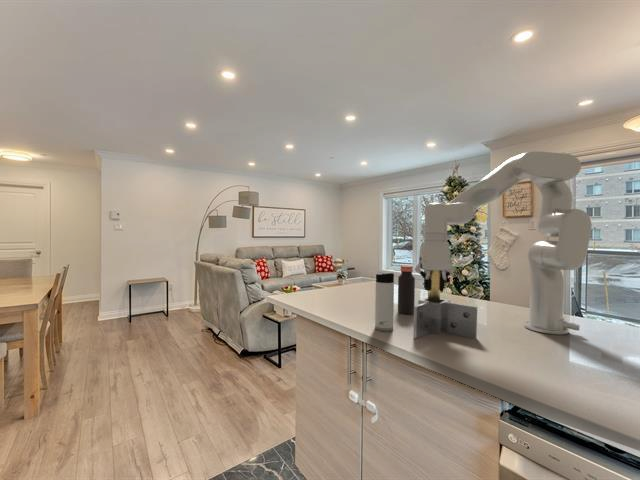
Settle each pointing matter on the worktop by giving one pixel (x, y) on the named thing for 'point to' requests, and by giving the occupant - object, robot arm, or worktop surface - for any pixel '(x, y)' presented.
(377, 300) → the travel mug
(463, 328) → the hinge
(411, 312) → the bottle
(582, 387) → the worktop surface
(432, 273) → the hinge pin
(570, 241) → the robot arm
